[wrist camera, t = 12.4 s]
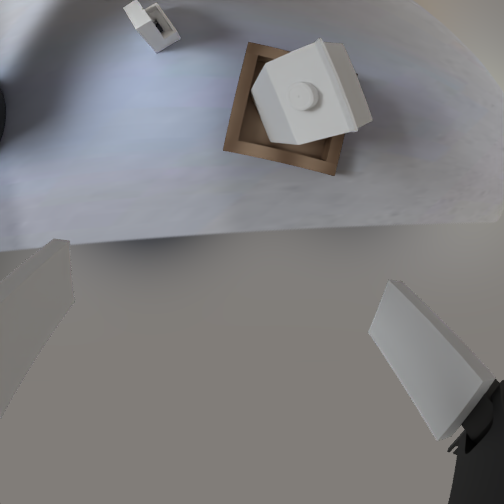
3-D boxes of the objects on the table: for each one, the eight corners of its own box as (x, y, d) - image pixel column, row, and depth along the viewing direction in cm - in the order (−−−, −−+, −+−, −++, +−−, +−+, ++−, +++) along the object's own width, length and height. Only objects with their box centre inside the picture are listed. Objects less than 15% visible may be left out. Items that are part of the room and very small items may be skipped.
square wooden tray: (223, 149, 37) (222, 150, 34) (246, 49, 32) (248, 41, 29) (326, 173, 39) (334, 176, 36) (348, 77, 34) (357, 73, 32)
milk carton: (301, 75, 34) (363, 29, 16) (320, 124, 36) (397, 119, 18) (249, 91, 34) (271, 50, 16) (270, 142, 37) (311, 147, 19)
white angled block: (169, 73, 31) (135, 29, 22) (146, 37, 32) (117, -2, 24) (195, 58, 30) (167, 10, 22) (169, 23, 32) (143, -17, 23)
